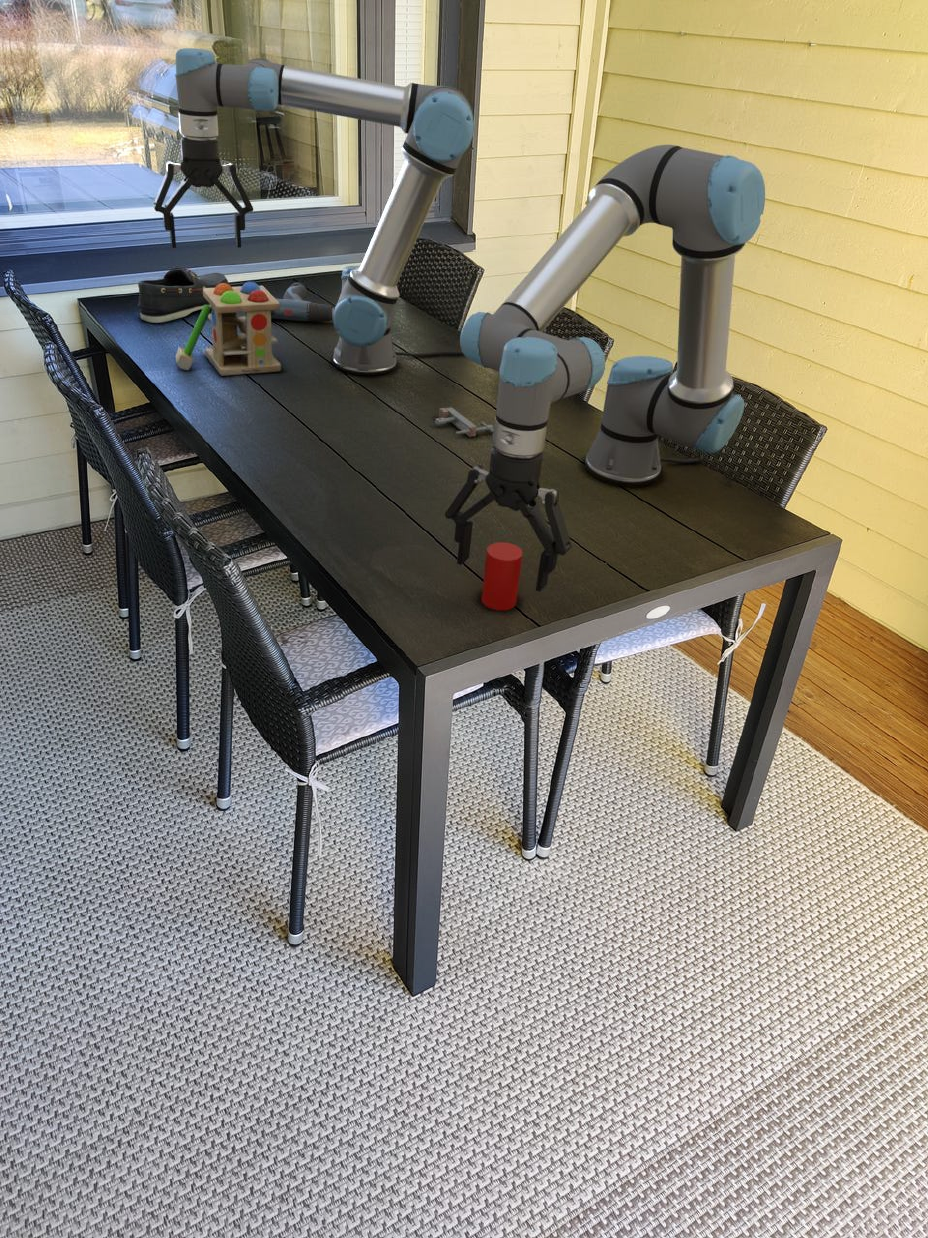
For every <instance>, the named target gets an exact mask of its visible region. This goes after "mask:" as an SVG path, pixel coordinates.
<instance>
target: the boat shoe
mask: <svg viewBox="0 0 928 1238" xmlns="http://www.w3.org/2000/svg"><path fill="white" fill-rule="evenodd" d="M221 283H226V284H228V285H230V282H229V280H228V279H227V277H226V276H225V274H223V273H220V272H211V273H205V274H201V275H198V274H197V273H195V272H194V271H192V270H190V269H189V268H182V267H180V266H176V267H173V268H171V269H170V270H168V271H167V272H166V273H165V274H164V276H163V277H162V278H158V279H143V280H139V281H138V282H137V285H138V286H137V287H138V293H139V294H138V295H139V296H138V301H139V302H138V303H137V307H139V308H140V319H141V320H143V321H145V322H148V323H152V324H158V323H160V324H161V323H166V322H170V321H173V320H177V319H181V318H184V317H187V316H188V315H190V314H191V313H193V312H196V311H199V310H202V309H203V307H204V305H208V306H210V307H211V305H210V304H209V302H208V301H207V300H206V299H205V297H204V296H203V289H204V288H215V287H216V286H217V285H218V284H221Z"/></svg>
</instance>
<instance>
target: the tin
mask: <svg viewBox="0 0 928 1238" xmlns="http://www.w3.org/2000/svg"><path fill="white" fill-rule="evenodd" d="M522 562H523V550H522V548H520V547H519V546H518V545H516V544H514V543H510V542H503V541H501V542H495V543H491V544H489V546H488V547H487V549H486V556H485V565H484V575H483V582H482V583H483V584H482V593H481V603H482V604H483V605H484V606H485V607H487V608H488V609H491V610H494V611H508V610H511V609H513V608H514V607H515V606H516V605H517V600H518V599H517V598H518V591H519V585H520V577H521V576H520V575H521V570H522Z"/></svg>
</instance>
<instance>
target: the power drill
mask: <svg viewBox="0 0 928 1238" xmlns="http://www.w3.org/2000/svg"><path fill="white" fill-rule="evenodd" d="M307 295H308V290H307V287H306V285H304V284H303V283H301V282H293V283H292V284H291V285H290V286H289V287H288V288H287V289H286V291H285V292H284V294H283V297H282V298H275V299H276V300H277V301H278V302H279V303H280V310H271V319H274V320H275V319H276V320H283V321H294V322H295V321H297V322H332V321H334V320H333V312H334V308H335V307H333V306H332V305H331V304H324V303H317V302H313V301H307V300H305V299H306V297H307Z"/></svg>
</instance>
